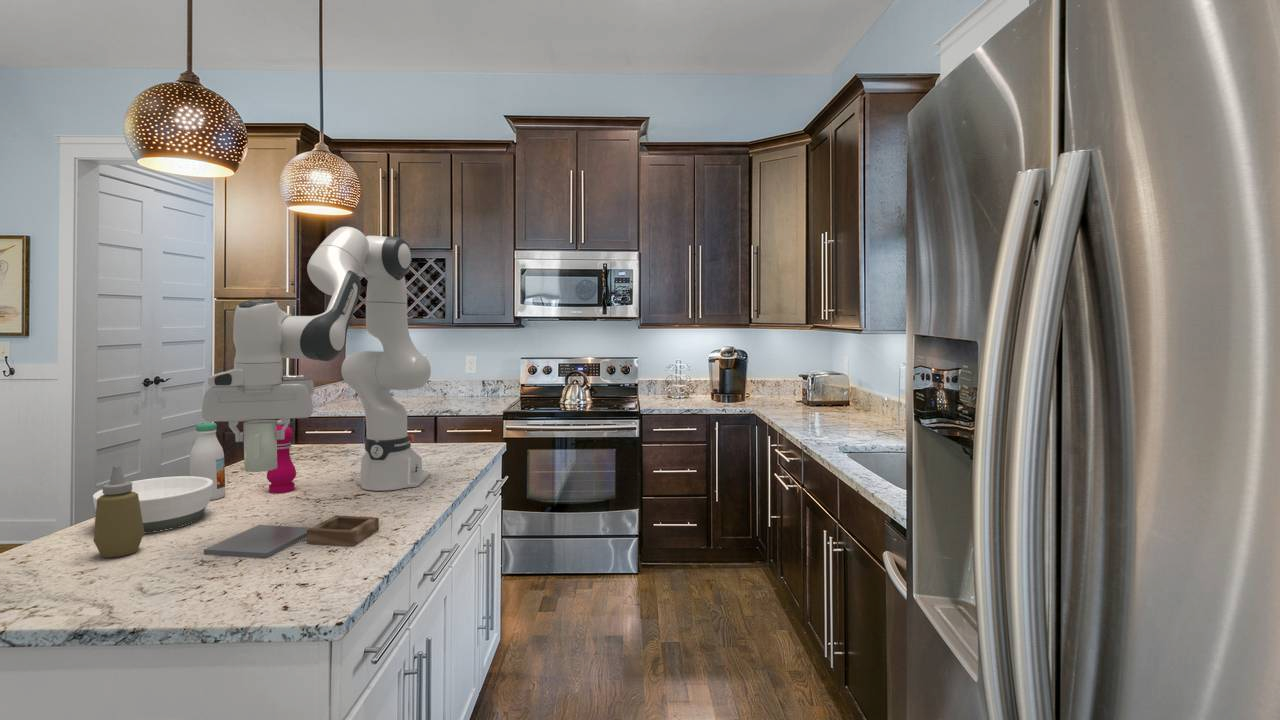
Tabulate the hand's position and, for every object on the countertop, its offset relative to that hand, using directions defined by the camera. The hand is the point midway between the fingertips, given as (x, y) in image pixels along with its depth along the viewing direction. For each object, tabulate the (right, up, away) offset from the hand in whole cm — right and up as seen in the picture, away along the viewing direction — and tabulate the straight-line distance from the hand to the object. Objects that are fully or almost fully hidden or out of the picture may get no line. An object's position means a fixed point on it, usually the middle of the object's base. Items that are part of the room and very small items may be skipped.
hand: (260, 440), depth 136 cm
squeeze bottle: (-25, -23, -6) cm, 34 cm away
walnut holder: (+15, -22, +6) cm, 27 cm away
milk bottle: (-35, -20, +35) cm, 53 cm away
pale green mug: (0, -6, -1) cm, 6 cm away
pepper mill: (-19, -20, +43) cm, 51 cm away
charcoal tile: (0, -22, +1) cm, 22 cm away
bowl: (-33, -21, +14) cm, 42 cm away
